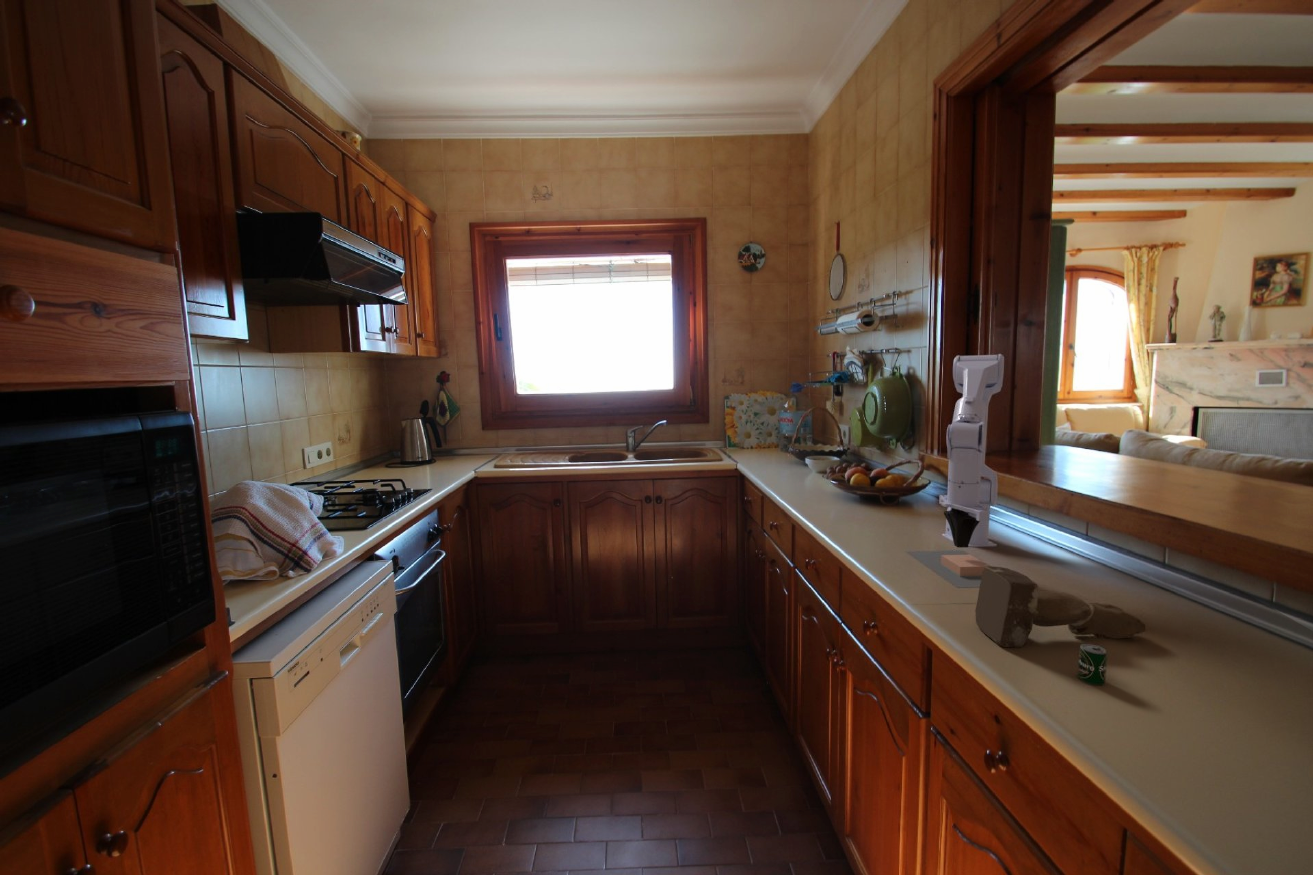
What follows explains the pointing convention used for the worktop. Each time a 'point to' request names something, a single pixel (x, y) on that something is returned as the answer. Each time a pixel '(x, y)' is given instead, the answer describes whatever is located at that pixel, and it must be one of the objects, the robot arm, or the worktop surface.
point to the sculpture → (1042, 610)
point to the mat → (934, 563)
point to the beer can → (1092, 664)
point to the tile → (963, 565)
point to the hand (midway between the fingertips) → (961, 546)
